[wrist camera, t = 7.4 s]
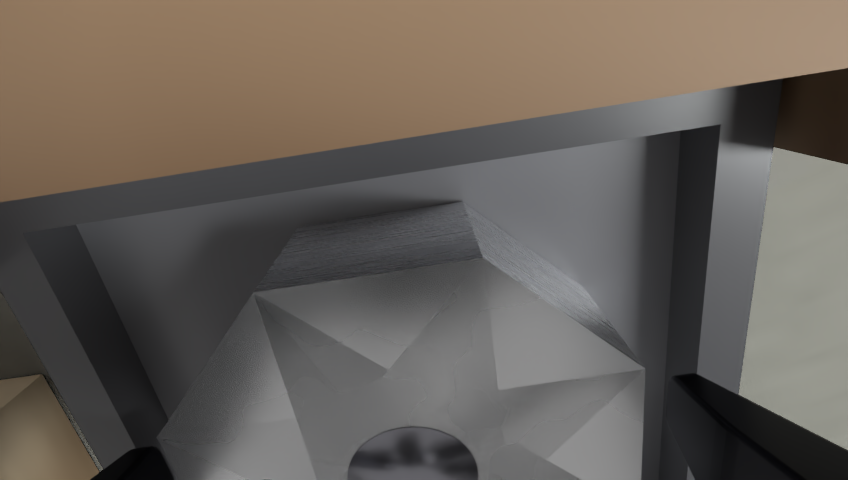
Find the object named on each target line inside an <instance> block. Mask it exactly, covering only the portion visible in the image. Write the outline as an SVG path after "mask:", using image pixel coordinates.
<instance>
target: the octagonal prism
mask: <svg viewBox="0 0 848 480" xmlns="http://www.w3.org/2000/svg"><path fill="white" fill-rule="evenodd" d="M644 394H645V368H644V366H643V365H642V364H641V363H640V361H639V360H638V359H637V357H636V356H635V355H634V353H633V352H632V351H631V349H630V348H629V347H628V345H627V344H626V343H625V341H624V340H623V339H622V337H621V336H620V335H619V333H618V332H617V331H616V329H615V328H614V327H613V325H612V324H611V323H610V322H609V320H608V319H607V318H606V316H605V315H604V314H603V312H602V311H601V310H600V308H599V307H598V306H597V304H596V303H595V302H594V300H593V299H592V298H591V296H590V295H589V294H588V292H587V291H586V290H585V288H584V287H582V286H581V285H580V284H578V283H577V282H575V281H574V280H573V279H571V278H570V277H568V276H567V275H566V274H564V273H563V272H561V271H560V270H559V269H557V268H556V267H554V266H553V265H552V264H550V263H549V262H547V261H546V260H545V259H543V258H542V257H540V256H539V255H538V254H536V253H535V252H533V251H532V250H531V249H529V248H528V247H526V246H525V245H524V244H522V243H521V242H519V241H518V240H517V239H515V238H514V237H512V236H511V235H510V234H508V233H507V232H505V231H504V230H503V229H501V228H500V227H498V226H497V225H496V224H494V223H493V222H491V221H490V220H489V219H487V218H486V217H484V216H483V215H482V214H480V213H479V212H477V211H476V210H475V209H473V208H472V207H470V206H469V205H468V204H466V203H465V202H463V201H459V202H453V203H446V204H440V205H434V206H427V207H421V208H414V209H408V210H402V211H395V212H389V213H382V214H376V215H369V216H363V217H357V218H350V219H344V220H337V221H331V222H325V223H318V224H312V225H305V226H299V227H298V228H297V230H296V231H295V233H294V234H293V236H292V237H291V238H290V240H289V241H288V243H287V244H286V246H285V247H284V249H283V250H282V252H281V253H280V254H279V256H278V257H277V259H276V260H275V262H274V263H273V265H272V266H271V268H270V269H269V270H268V272H267V273H266V275H265V276H264V278H263V279H262V281H261V282H260V284H259V285H258V286H257V288H256V289H255V291H254V292H253V294H252V295H251V297H250V298H249V300H248V301H247V303H246V304H245V306H244V307H243V309H242V310H241V312H240V313H239V315H238V316H237V318H236V319H235V321H234V322H233V324H232V325H231V327H230V328H229V330H228V331H227V333H226V334H225V336H224V337H223V339H222V340H221V342H220V343H219V345H218V346H217V348H216V349H215V351H214V352H213V354H212V355H211V357H210V358H209V360H208V361H207V363H206V364H205V366H204V367H203V369H202V370H201V372H200V373H199V375H198V376H197V378H196V379H195V381H194V382H193V384H192V385H191V387H190V388H189V390H188V391H187V393H186V394H185V396H184V397H183V399H182V400H181V402H180V403H179V405H178V406H177V408H176V409H175V411H174V412H173V414H172V415H171V417H170V418H169V420H168V422H167V423H166V425H165V426H164V428H163V429H162V431H161V432H160V434H159V435H158V437H157V439H158V441H159V443H160V445H161V447H162V449H163V451H164V453H165V455H166V457H167V459H168V461H169V463H170V465H171V467H172V469H173V471H174V473H175V475H176V477H177V479H178V480H641V469H642V444H643V419H644Z"/></svg>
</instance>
